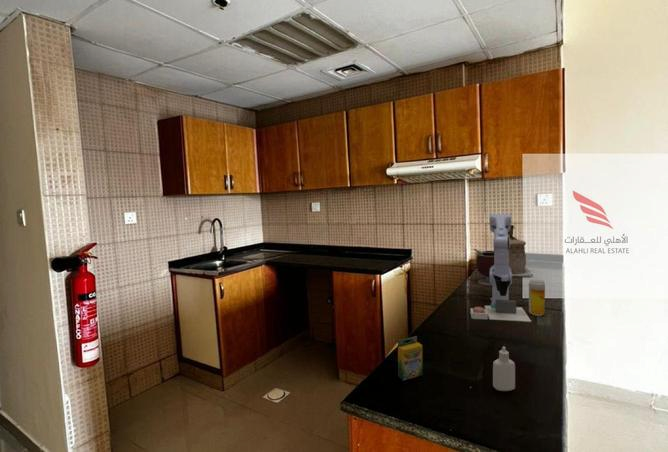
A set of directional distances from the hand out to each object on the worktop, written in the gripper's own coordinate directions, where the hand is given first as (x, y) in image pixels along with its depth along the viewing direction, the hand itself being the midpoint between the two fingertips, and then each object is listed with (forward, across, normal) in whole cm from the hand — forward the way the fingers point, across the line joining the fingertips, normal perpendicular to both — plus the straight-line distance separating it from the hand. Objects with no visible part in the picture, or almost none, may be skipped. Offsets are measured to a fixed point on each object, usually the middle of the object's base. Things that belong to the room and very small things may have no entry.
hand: (501, 293), depth 157 cm
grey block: (+9, -1, +2) cm, 9 cm away
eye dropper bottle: (+10, +64, -10) cm, 65 cm away
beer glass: (+10, -2, +14) cm, 17 cm away
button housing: (+9, +6, -10) cm, 15 cm away
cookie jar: (+9, -81, +18) cm, 84 cm away
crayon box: (+10, +62, -36) cm, 72 cm away
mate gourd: (+9, -55, +1) cm, 55 cm away
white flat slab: (+9, 0, +2) cm, 10 cm away
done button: (+8, +6, -10) cm, 14 cm away
